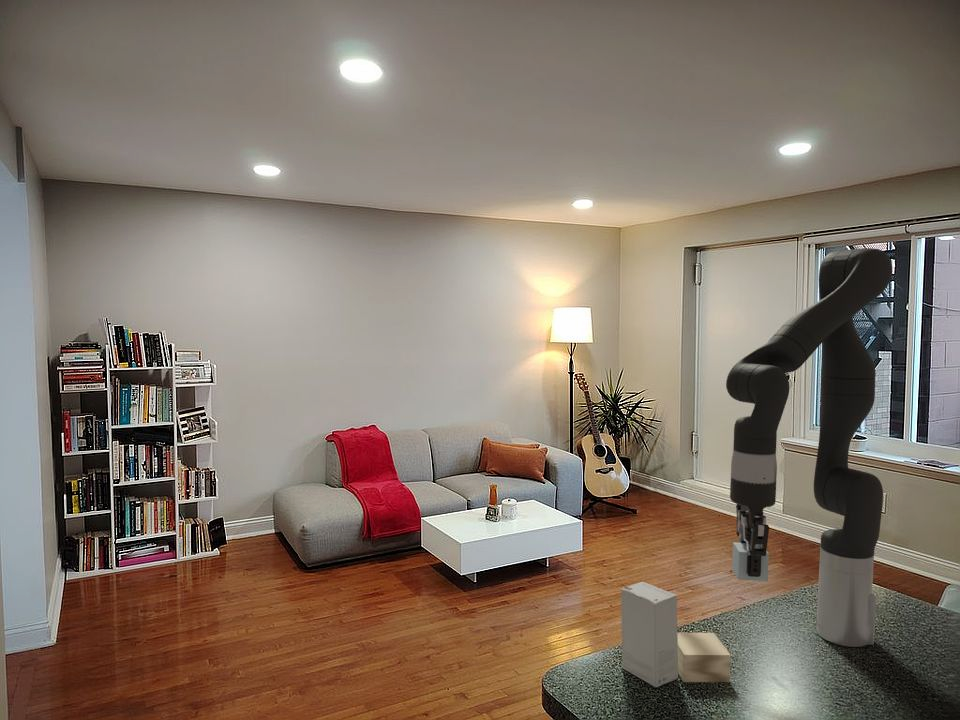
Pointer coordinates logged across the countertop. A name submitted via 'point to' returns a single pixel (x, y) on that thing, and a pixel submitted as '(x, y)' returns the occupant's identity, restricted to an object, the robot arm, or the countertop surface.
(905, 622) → the countertop surface
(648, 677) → the skincare box
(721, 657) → the birch block
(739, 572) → the grey-blue cube
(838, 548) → the robot arm
